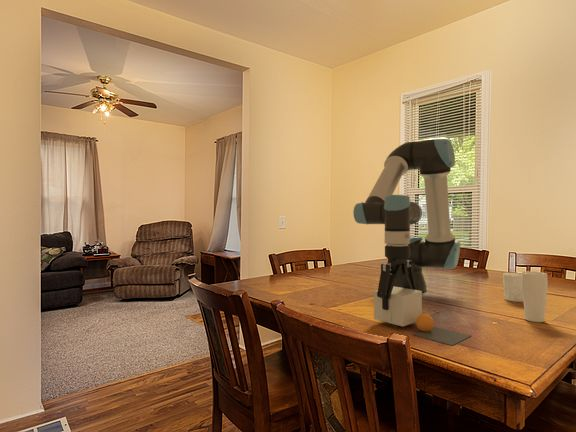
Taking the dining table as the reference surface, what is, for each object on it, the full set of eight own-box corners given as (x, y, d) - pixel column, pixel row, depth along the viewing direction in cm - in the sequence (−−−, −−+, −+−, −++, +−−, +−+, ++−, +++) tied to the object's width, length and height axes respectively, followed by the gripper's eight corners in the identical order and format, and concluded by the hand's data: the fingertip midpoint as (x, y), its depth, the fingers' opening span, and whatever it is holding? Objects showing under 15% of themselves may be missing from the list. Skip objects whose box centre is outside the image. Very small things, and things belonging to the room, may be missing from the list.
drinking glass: (516, 317, 119) (516, 271, 119) (536, 317, 120) (536, 270, 120) (532, 324, 112) (532, 275, 112) (553, 323, 113) (553, 274, 113)
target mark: (413, 335, 104) (413, 334, 104) (433, 327, 111) (433, 326, 111) (452, 345, 95) (452, 345, 95) (471, 336, 102) (471, 335, 102)
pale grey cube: (374, 318, 114) (373, 290, 114) (393, 312, 121) (393, 286, 121) (403, 326, 107) (402, 296, 106) (421, 319, 113) (421, 291, 113)
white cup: (530, 302, 138) (530, 276, 138) (507, 302, 140) (507, 275, 140) (521, 297, 146) (521, 272, 146) (499, 297, 148) (499, 272, 147)
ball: (423, 313, 104) (430, 331, 102) (433, 310, 107) (440, 327, 105) (409, 318, 108) (416, 335, 106) (419, 315, 111) (426, 331, 109)
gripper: (385, 248, 103) (386, 327, 104) (428, 243, 118) (428, 312, 118) (364, 246, 109) (364, 321, 109) (407, 241, 124) (407, 307, 124)
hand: (397, 316), depth 114 cm, fingers closed on pale grey cube, 10 cm apart
